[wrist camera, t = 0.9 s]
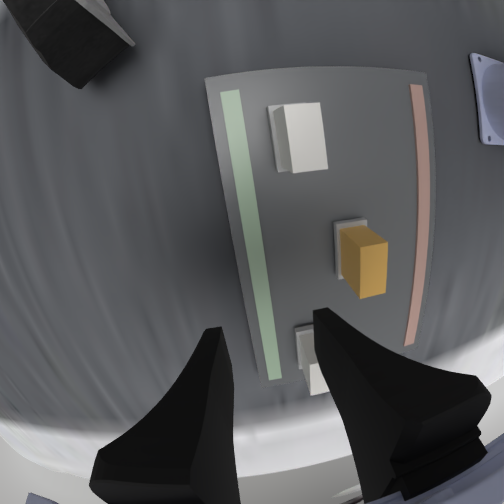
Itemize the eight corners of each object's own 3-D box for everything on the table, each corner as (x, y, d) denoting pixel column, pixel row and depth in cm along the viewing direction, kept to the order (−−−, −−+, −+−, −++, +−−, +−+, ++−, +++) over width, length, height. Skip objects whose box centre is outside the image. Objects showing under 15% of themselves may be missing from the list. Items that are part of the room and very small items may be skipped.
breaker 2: (322, 322, 20) (338, 354, 17) (323, 359, 21) (336, 392, 18) (294, 328, 20) (306, 362, 17) (297, 365, 21) (307, 398, 18)
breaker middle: (363, 217, 17) (391, 236, 14) (364, 270, 19) (388, 296, 15) (333, 222, 17) (356, 242, 14) (335, 276, 19) (356, 304, 15)
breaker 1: (303, 103, 15) (323, 95, 11) (311, 166, 16) (332, 175, 13) (266, 106, 15) (277, 98, 11) (276, 171, 16) (289, 180, 13)
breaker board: (410, 75, 16) (427, 72, 14) (407, 335, 24) (418, 349, 22) (206, 84, 16) (204, 77, 14) (258, 371, 24) (261, 389, 22)
